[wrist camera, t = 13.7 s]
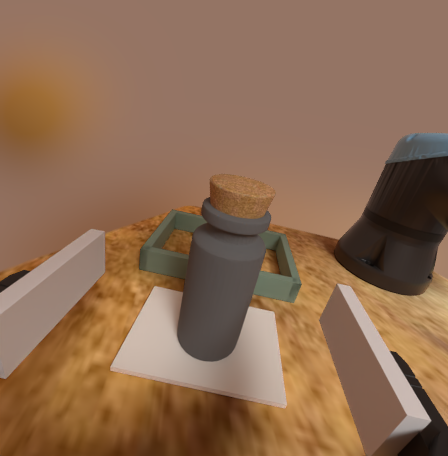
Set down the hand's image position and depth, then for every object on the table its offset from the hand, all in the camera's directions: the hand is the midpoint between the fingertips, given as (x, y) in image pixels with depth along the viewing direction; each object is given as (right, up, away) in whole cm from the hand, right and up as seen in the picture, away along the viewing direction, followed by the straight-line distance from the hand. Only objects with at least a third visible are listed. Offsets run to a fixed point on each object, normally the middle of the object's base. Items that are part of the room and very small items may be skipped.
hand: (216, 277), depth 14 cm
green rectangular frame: (0, -2, +24) cm, 24 cm away
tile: (-1, -8, +10) cm, 13 cm away
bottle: (-1, -8, +10) cm, 12 cm away
